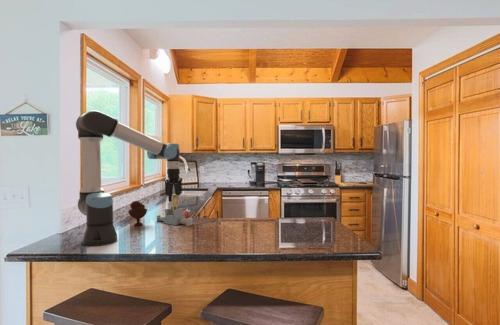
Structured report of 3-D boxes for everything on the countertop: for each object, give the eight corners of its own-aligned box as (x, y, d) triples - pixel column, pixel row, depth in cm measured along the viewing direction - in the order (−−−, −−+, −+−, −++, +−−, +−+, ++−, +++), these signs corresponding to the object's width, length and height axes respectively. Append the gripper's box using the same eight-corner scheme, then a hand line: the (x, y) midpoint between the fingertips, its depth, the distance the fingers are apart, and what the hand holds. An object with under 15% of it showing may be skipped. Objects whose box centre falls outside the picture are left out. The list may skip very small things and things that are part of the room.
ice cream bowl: (144, 227, 179) (143, 201, 179) (125, 227, 179) (124, 202, 179) (150, 223, 189) (149, 199, 189) (132, 223, 190) (132, 199, 189)
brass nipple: (174, 214, 187) (173, 195, 186) (169, 214, 189) (169, 194, 188) (178, 213, 190) (178, 194, 190) (174, 213, 192) (173, 194, 192)
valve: (185, 226, 180) (185, 211, 179) (154, 222, 193) (154, 208, 192) (201, 221, 192) (201, 207, 192) (172, 218, 206) (171, 204, 205)
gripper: (167, 168, 180) (168, 208, 180) (187, 167, 194) (187, 204, 195) (158, 168, 183) (159, 207, 184) (178, 167, 198) (179, 203, 199)
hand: (173, 205), depth 189 cm, fingers closed on brass nipple, 4 cm apart
